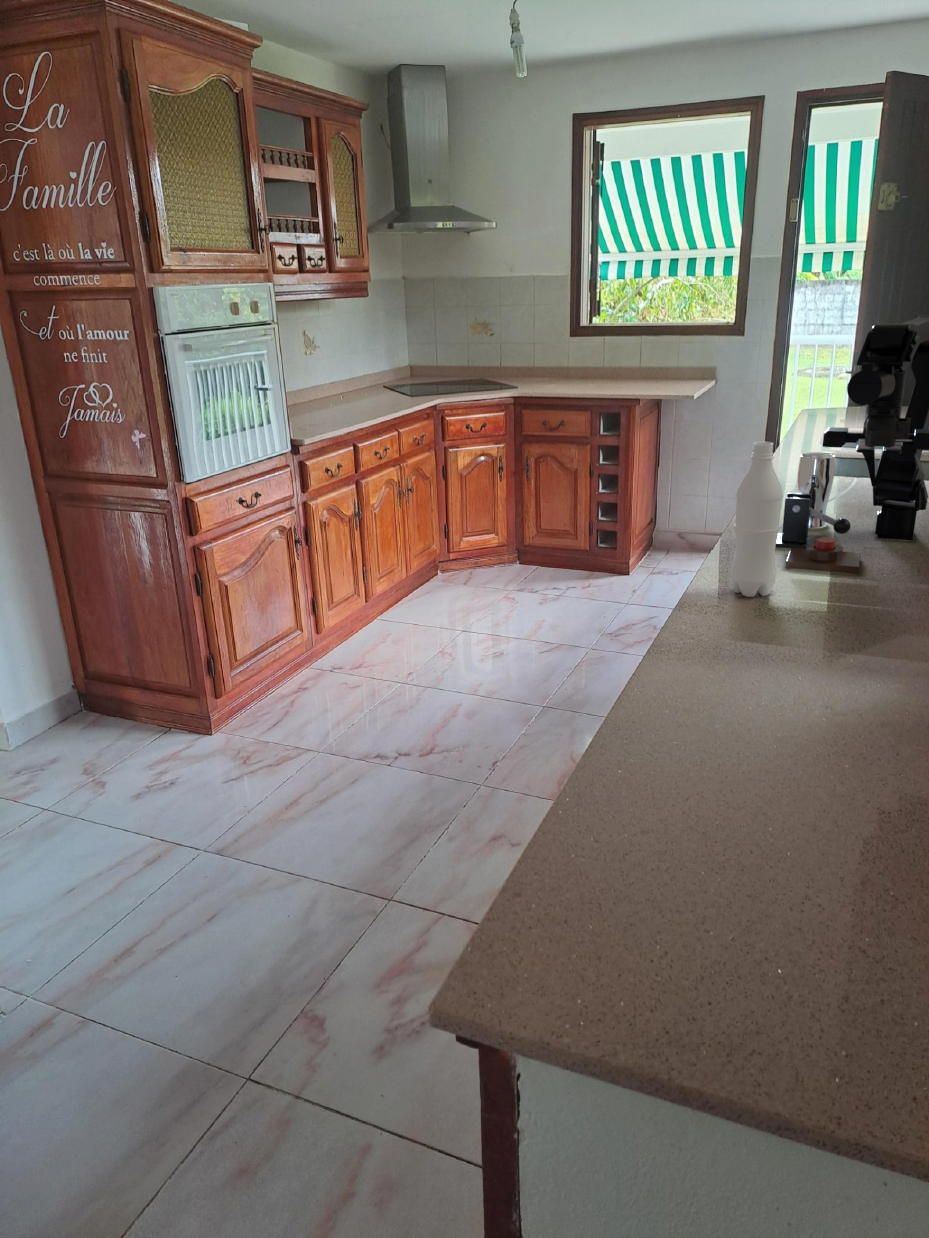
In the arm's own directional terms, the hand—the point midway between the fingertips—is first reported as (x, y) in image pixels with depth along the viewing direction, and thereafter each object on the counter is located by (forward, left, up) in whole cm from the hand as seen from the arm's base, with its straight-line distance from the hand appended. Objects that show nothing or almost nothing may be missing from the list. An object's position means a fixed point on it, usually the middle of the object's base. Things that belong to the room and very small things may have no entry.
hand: (874, 486), depth 160 cm
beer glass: (+11, -18, -13) cm, 25 cm away
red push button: (+7, +9, -10) cm, 15 cm away
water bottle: (+17, +28, -13) cm, 35 cm away
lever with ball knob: (+9, -3, -8) cm, 13 cm away
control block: (+7, +9, -13) cm, 18 cm away
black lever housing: (+13, -3, -13) cm, 19 cm away
